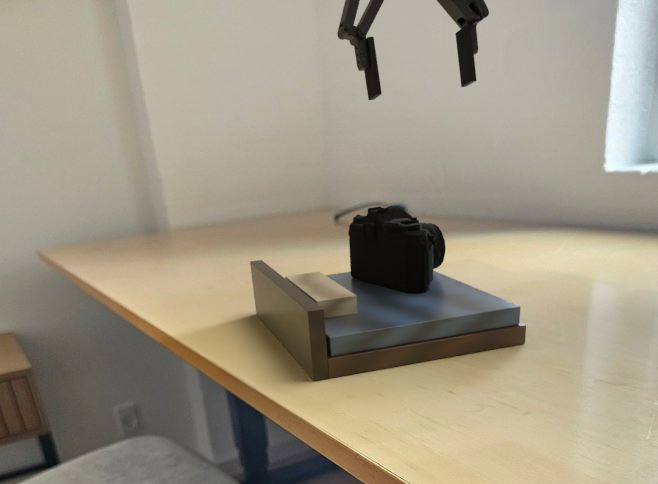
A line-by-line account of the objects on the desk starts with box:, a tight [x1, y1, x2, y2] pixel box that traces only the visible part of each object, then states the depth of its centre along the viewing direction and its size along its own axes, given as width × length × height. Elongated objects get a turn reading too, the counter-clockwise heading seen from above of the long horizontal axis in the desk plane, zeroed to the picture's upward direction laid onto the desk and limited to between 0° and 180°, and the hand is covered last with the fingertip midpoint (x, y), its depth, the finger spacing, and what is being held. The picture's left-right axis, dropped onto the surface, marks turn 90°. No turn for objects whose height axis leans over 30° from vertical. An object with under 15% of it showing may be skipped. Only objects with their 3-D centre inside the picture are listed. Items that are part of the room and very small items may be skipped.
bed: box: [249, 259, 527, 382], centre depth 78 cm, size 24×28×7 cm
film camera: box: [347, 205, 447, 293], centre depth 81 cm, size 15×10×9 cm, turn 30°
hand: (422, 90), depth 86 cm, fingers open, 13 cm apart
